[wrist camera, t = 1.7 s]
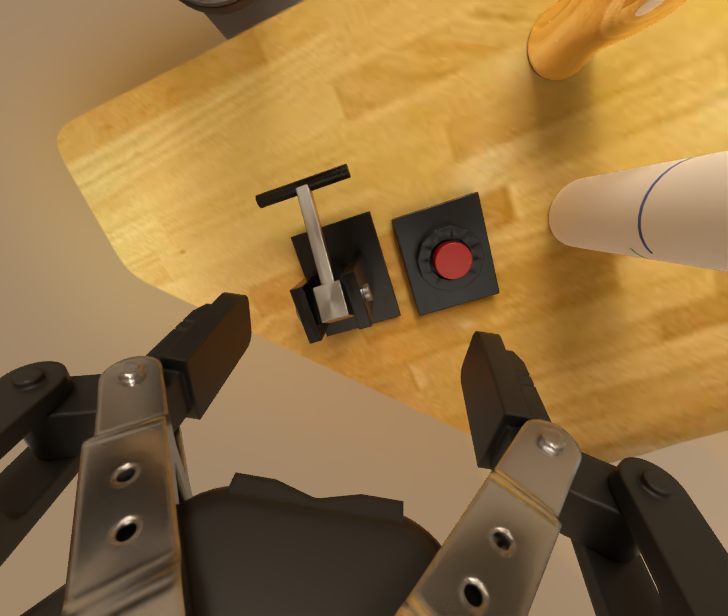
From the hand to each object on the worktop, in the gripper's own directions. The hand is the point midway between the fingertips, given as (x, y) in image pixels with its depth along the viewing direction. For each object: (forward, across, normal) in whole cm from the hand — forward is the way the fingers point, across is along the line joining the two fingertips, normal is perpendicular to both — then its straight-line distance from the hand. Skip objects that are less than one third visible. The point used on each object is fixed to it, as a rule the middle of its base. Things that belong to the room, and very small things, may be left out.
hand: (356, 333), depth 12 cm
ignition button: (+23, -7, +6) cm, 24 cm away
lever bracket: (+24, +3, +10) cm, 26 cm away
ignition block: (+26, -7, +6) cm, 27 cm away
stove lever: (+16, +5, +4) cm, 17 cm away
